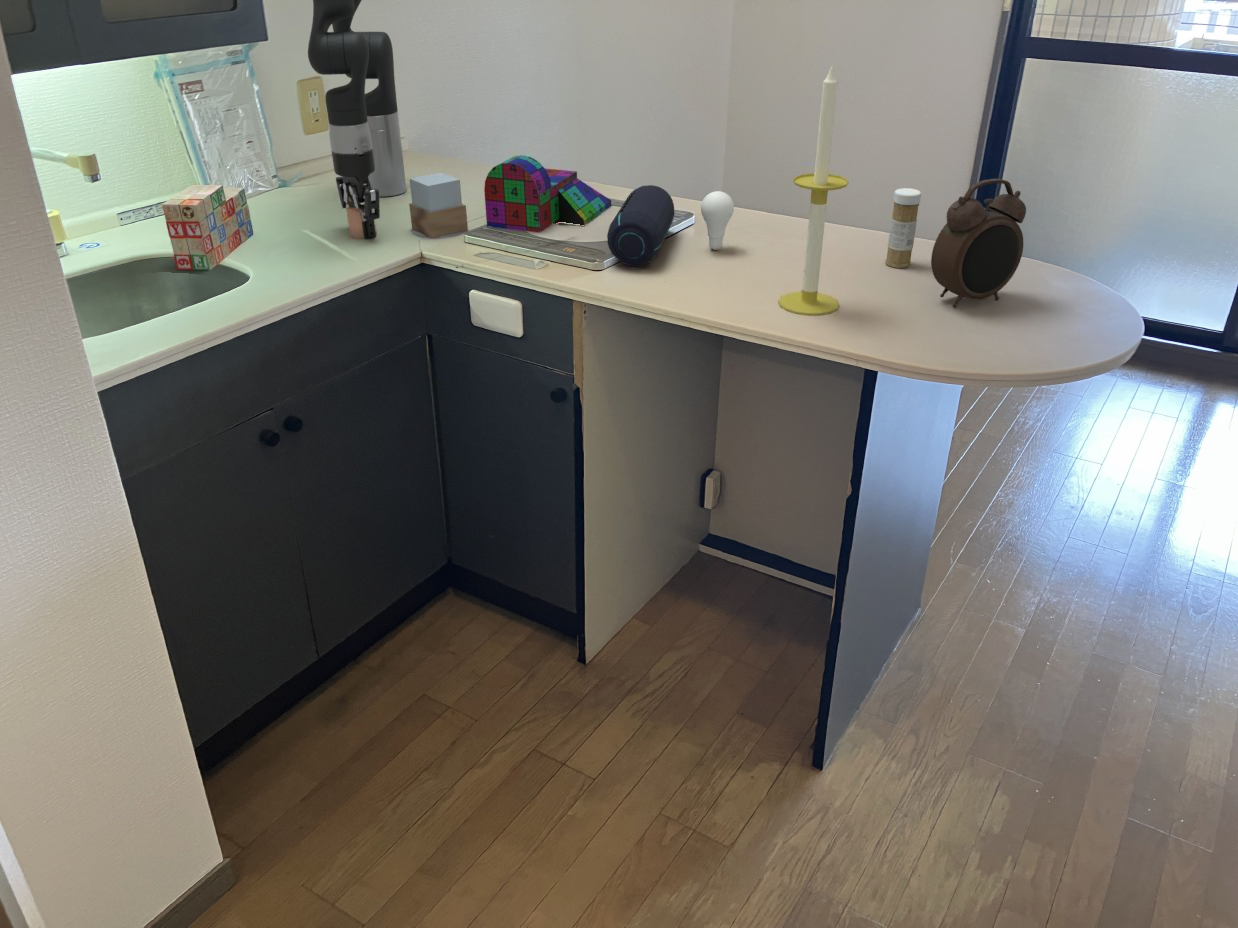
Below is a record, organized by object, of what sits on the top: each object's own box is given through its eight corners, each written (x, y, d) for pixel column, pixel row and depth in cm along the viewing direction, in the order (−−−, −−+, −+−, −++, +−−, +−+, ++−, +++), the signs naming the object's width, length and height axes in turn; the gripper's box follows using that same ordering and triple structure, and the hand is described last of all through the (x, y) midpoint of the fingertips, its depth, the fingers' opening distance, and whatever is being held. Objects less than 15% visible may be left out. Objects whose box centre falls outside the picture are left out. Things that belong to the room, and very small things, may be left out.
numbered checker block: (565, 241, 196) (563, 168, 189) (487, 232, 201) (482, 160, 194) (611, 206, 216) (610, 139, 209) (539, 199, 221) (536, 133, 214)
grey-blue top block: (412, 204, 196) (409, 178, 194) (443, 198, 200) (441, 172, 198) (430, 212, 192) (427, 186, 189) (462, 205, 196) (459, 179, 193)
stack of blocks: (223, 234, 201) (210, 171, 194) (254, 234, 200) (242, 172, 194) (176, 270, 182) (160, 203, 176) (210, 271, 182) (195, 203, 176)
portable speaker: (627, 228, 203) (627, 179, 197) (676, 231, 201) (677, 181, 196) (603, 270, 181) (602, 216, 176) (658, 274, 180) (659, 219, 175)
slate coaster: (402, 233, 200) (401, 228, 199) (450, 223, 206) (449, 218, 205) (429, 247, 193) (428, 242, 192) (478, 236, 198) (478, 231, 198)
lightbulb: (736, 247, 192) (739, 189, 186) (725, 256, 187) (728, 198, 182) (705, 243, 194) (708, 186, 189) (694, 252, 189) (696, 194, 184)
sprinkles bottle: (899, 259, 186) (909, 186, 179) (915, 266, 182) (927, 192, 175) (879, 263, 184) (889, 189, 177) (895, 270, 180) (906, 195, 174)
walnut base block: (412, 229, 199) (409, 204, 197) (447, 221, 204) (445, 196, 201) (432, 238, 194) (429, 213, 191) (467, 230, 198) (465, 205, 196)
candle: (839, 317, 162) (868, 70, 143) (776, 313, 163) (796, 68, 144) (838, 295, 170) (865, 59, 151) (779, 291, 172) (798, 57, 153)
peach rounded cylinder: (346, 238, 197) (341, 208, 194) (370, 233, 200) (366, 203, 197) (357, 244, 194) (353, 214, 191) (382, 239, 197) (378, 209, 194)
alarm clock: (949, 315, 162) (971, 191, 152) (921, 300, 168) (940, 180, 158) (1020, 301, 167) (1045, 181, 157) (990, 287, 173) (1012, 170, 163)
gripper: (316, 143, 191) (330, 231, 200) (350, 157, 181) (362, 249, 190) (353, 137, 195) (364, 223, 204) (387, 151, 185) (398, 241, 194)
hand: (363, 235), depth 197 cm, fingers closed on peach rounded cylinder, 5 cm apart
